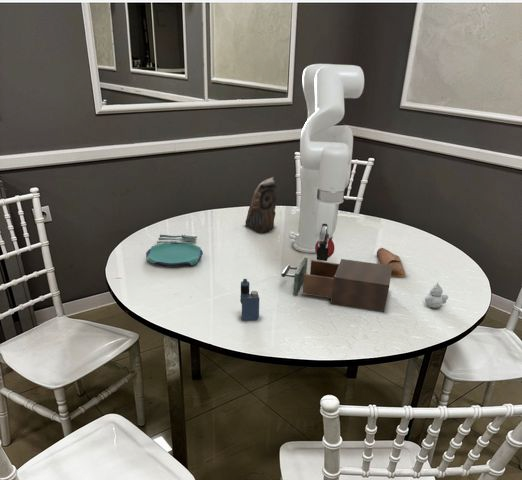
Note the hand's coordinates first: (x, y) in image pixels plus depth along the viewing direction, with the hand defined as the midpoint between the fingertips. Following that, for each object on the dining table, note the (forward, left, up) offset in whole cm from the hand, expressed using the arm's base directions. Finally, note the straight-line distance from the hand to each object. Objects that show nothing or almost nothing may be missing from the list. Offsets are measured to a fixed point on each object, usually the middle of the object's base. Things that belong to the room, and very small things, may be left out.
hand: (323, 255), depth 142 cm
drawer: (-2, -1, -11) cm, 11 cm away
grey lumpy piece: (+33, +11, -12) cm, 37 cm away
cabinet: (+12, +3, -12) cm, 17 cm away
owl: (-47, +41, -12) cm, 63 cm away
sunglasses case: (+12, +33, -12) cm, 37 cm away
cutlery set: (-57, -1, -12) cm, 59 cm away
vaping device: (-9, -27, -12) cm, 31 cm away
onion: (0, 0, -2) cm, 2 cm away
